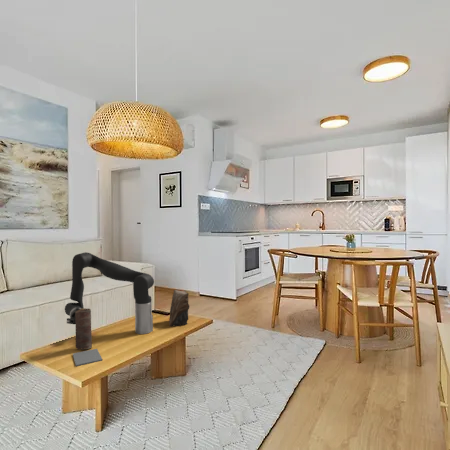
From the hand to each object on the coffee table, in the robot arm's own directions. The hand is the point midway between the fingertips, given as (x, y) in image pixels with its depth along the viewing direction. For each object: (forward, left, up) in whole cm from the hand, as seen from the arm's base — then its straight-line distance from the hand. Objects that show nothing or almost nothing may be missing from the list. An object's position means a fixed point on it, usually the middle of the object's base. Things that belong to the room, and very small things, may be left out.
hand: (81, 323), depth 163 cm
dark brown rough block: (-55, -1, -10) cm, 56 cm away
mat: (0, +22, -10) cm, 24 cm away
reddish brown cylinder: (0, +10, -10) cm, 14 cm away
